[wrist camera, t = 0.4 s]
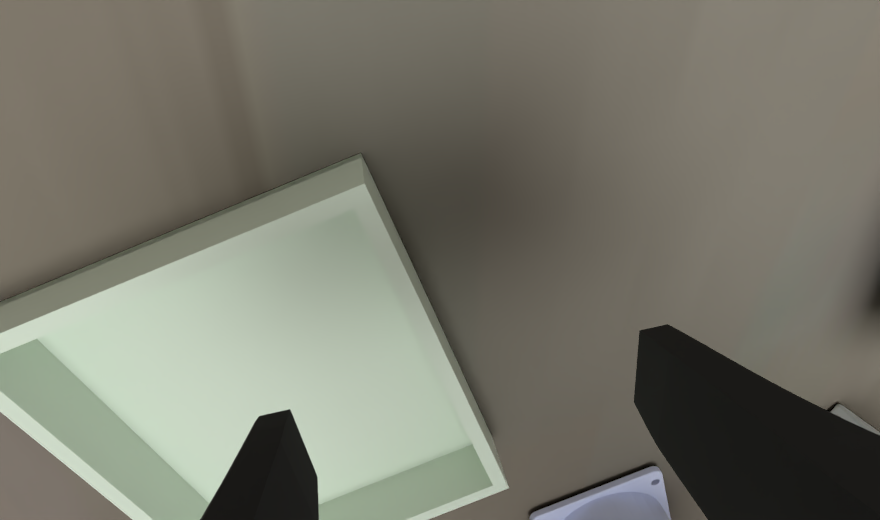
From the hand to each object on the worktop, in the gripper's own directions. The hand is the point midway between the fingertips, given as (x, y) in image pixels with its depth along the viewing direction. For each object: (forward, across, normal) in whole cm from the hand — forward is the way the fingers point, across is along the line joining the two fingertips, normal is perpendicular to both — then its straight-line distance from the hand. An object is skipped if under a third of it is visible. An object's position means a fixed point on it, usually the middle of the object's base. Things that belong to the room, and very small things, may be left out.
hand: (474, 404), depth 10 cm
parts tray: (+10, +7, +7) cm, 14 cm away
